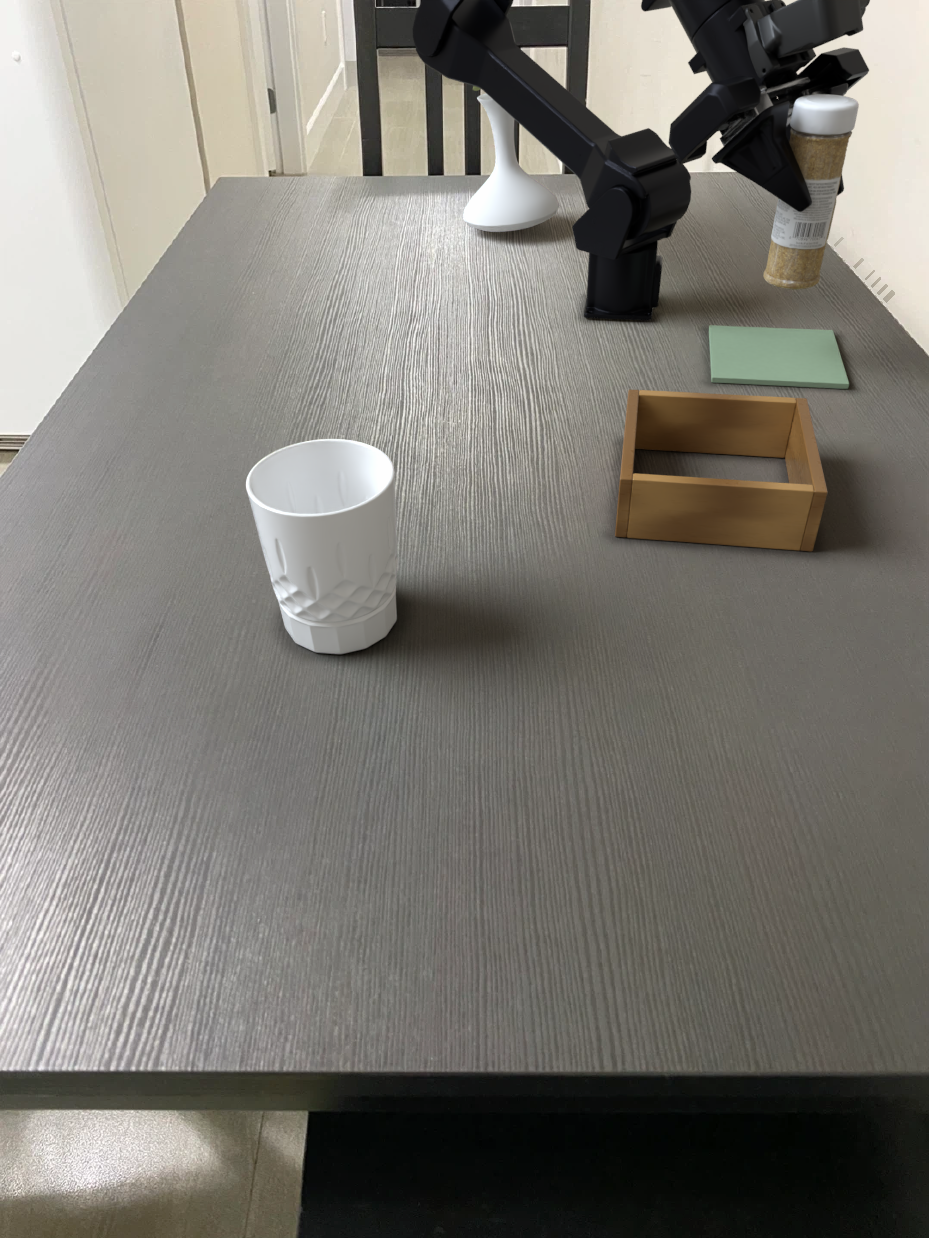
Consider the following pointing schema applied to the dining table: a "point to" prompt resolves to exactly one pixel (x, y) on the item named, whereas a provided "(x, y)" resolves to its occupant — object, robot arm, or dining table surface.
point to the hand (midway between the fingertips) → (822, 201)
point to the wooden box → (721, 503)
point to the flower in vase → (507, 184)
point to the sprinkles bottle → (811, 189)
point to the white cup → (329, 541)
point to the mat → (776, 357)
